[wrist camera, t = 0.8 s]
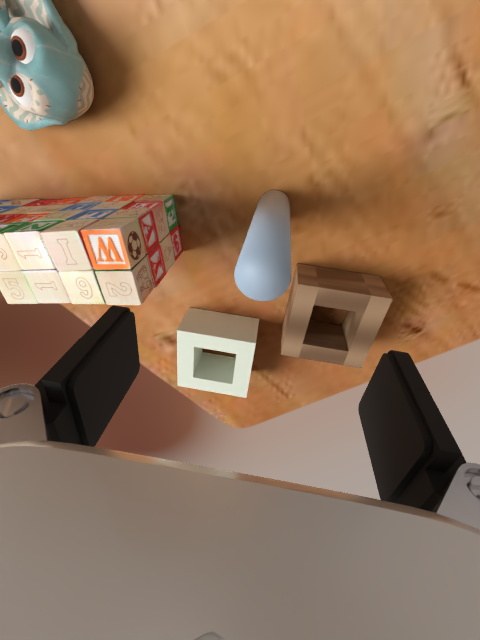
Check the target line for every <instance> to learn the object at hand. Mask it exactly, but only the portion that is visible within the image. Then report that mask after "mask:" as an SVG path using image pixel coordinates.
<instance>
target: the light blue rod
mask: <svg viewBox="0 0 480 640" xmlns="http://www.w3.org/2000/svg"><path fill="white" fill-rule="evenodd" d="M234 276H235V282H236V284H237V286H238V288H239V289H240V291H241V292H242V293H243V294H245V295H246V296H247V297H249V298H251V299H254V300H258V301H269V300H273V299H276V298H278V297H279V296H281V295H282V294H283V293H284V292H285V291H286V290H287V288H288V287H289V285H290V282H291V232H290V202H289V199H288V197H287V196H286V195H285V194H284V193H283V192H281V191H279V190H270V191H268V192H266V193H264V194H263V195H262V196H261V198H260V200H259V202H258V205H257V208H256V211H255V213H254V216H253V219H252V222H251V225H250V228H249V230H248V233H247V236H246V239H245V242H244V245H243V248H242V250H241V253H240V256H239V259H238V262H237V265H236V268H235V273H234Z"/></svg>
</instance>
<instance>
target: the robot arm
mask: <svg viewBox="0 0 480 640" xmlns="http://www.w3.org/2000/svg"><path fill="white" fill-rule="evenodd" d="M139 367H140V363H139V353H138V344H137V334H136V325H135V316H134V313H133V312H130V309H129V308H127V307H121V306H111V307H110V308H109V309H108V310H107V311H106V312H105V314H104V315H103V316H102V317H101V318H100V319H99V320H98V321H97V322H96V323H95V324H94V325H93V326H92V327H91V328H90V329H89V330H88V331H87V332H86V333H85V335H84V336H83V337H81V338H80V339H79V340H78V341H77V342H76V343H75V344H74V345H73V346H72V347H71V348H70V350H68V351H67V352H66V353H65V355H64V356H63V357H62V358H61V359H60V360H59V361H58V362H57V363H56V364H55V365H54V366H53V367H52V368H51V369H50V370H49V371H48V372H47V373H46V374H45V375H44V376H43V378H42V379H41V380H40V381H39V382H38V383H37V384H36V385H35V386H33V385H29V384H16V385H10V386H8V387H5V388H2V389H0V640H480V465H479V464H476V463H466V461H465V459H464V457H463V455H462V453H461V451H460V449H459V447H458V445H457V443H456V441H455V439H454V438H453V436H452V434H451V432H450V430H449V428H448V426H447V424H446V422H445V421H444V419H443V417H442V415H441V413H440V411H439V409H438V408H437V406H436V404H435V402H434V400H433V398H432V396H431V395H430V392H429V390H428V389H427V387H426V385H425V383H424V381H423V379H422V377H421V375H420V374H419V372H418V370H417V368H416V366H415V364H414V362H413V360H412V358H411V357H410V355H409V354H408V353H405V352H399V351H393V350H391V351H389V352H388V354H387V353H384V354H383V355H382V357H381V359H380V361H379V363H378V365H377V367H376V370H375V372H374V374H373V376H372V378H371V380H370V382H369V384H368V386H367V388H366V390H365V393H364V395H363V397H362V399H361V401H360V403H359V415H360V419H361V423H362V427H363V431H364V435H365V439H366V443H367V447H368V451H369V455H370V459H371V463H372V467H373V471H374V475H375V479H376V483H377V487H378V491H379V495H380V498H381V500H377V499H372V498H368V497H363V496H358V495H352V494H348V493H343V492H337V491H332V490H327V489H321V488H316V487H311V486H306V485H300V484H295V483H290V482H285V481H280V480H274V479H268V478H264V477H258V476H253V475H248V474H242V473H237V472H231V471H226V470H220V469H215V468H210V467H204V466H199V465H193V464H188V463H182V462H177V461H171V460H166V459H160V458H155V457H149V456H144V455H138V454H133V453H127V452H121V451H115V450H109V449H103V448H97V447H94V446H95V445H96V443H97V442H98V440H99V438H100V437H101V435H102V433H103V431H104V430H105V428H106V426H107V425H108V423H109V421H110V420H111V418H112V416H113V415H114V413H115V411H116V410H117V408H118V406H119V405H120V403H121V401H122V400H123V398H124V396H125V395H126V393H127V391H128V390H129V388H130V386H131V384H132V383H133V381H134V379H135V378H136V376H137V374H138V372H139Z"/></svg>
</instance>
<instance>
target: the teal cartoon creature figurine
mask: <svg viewBox="0 0 480 640" xmlns="http://www.w3.org/2000/svg"><path fill="white" fill-rule="evenodd" d="M10 18H11V20H10ZM93 98H94V87H93V81H92V78H91V74H90V72H89V70H88V67H87V65H86V63H85V62H84V60H83V58H82V56H81V55H80V53H79V52H78V48H77V42H76V40H75V38H74V36H73V34H72V32H71V31H70V30H69V28H68V27H67V26H66V25H65V23H64V22H63V20H62V18H61V17H60V15H59V13H58V11H57V10H56V8H55V6H54V4H53V2H52V1H51V0H0V103H1V105H2V107H3V108H4V110H5V112H6V113H7V114H8V115H9V116H10V118H11V119H12V120H13V121H14V122H15V123H16V124H17V125H18V126H19V127H20V128H23V129H27V130H35V129H39V128H43V127H47V126H51V125H67V124H68V123H69V122H70V121H71V120H74V119H77V118H78V117H80V116H81V115H82V114H84V113H85V112H86V111H88V109H89V107H90V106H91V104H92V101H93Z"/></svg>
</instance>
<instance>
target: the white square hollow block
mask: <svg viewBox="0 0 480 640" xmlns="http://www.w3.org/2000/svg"><path fill="white" fill-rule="evenodd" d="M258 325H259V319H257V318H251V317H245V316H239V315H233V314H227V313H221V312H215V311H209V310H202V309H196V308H190V307H189V308H188V310H187V312H186V314H185V316H184V318H183V320H182V322H181V323H180V325H179V327H178V329H177V369H178V386H182V387H188V388H193V389H199V390H205V391H210V392H216V393H222V394H227V395H233V396H239V397H244V398H246V396H247V391H248V385H249V379H250V374H251V368H252V362H253V357H254V351H255V345H256V339H257V332H258ZM203 348H204V349H210V350H216V351H222V352H228V353H233V354H236V358H235V357H229V356H223V355H217V354H211V353H206V352H202V350H203Z"/></svg>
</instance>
